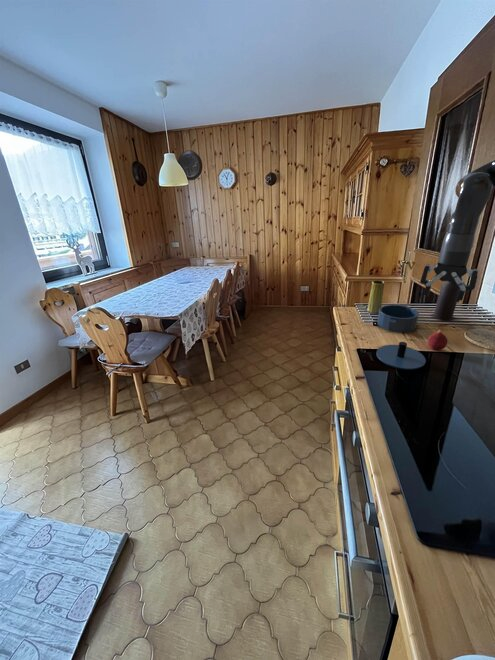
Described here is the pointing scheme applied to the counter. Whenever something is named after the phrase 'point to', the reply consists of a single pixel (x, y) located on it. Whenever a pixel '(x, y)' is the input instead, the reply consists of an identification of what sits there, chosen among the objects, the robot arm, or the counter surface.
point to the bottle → (447, 301)
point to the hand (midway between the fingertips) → (442, 298)
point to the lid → (401, 356)
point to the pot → (397, 318)
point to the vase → (376, 296)
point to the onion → (437, 341)
